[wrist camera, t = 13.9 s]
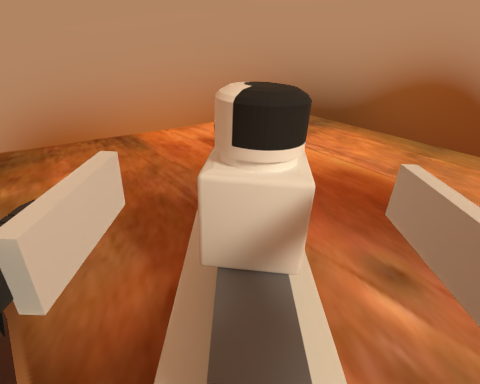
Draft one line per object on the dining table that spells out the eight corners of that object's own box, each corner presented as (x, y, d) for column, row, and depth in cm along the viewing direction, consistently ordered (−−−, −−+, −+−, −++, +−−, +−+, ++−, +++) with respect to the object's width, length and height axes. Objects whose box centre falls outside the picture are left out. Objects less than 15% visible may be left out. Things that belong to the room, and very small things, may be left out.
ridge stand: (197, 220, 37) (196, 177, 34) (291, 223, 37) (297, 181, 34) (139, 467, 15) (123, 405, 13) (363, 470, 16) (395, 410, 13)
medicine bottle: (293, 221, 26) (314, 81, 21) (300, 277, 20) (333, 97, 14) (215, 214, 27) (216, 75, 21) (198, 267, 20) (193, 88, 15)
